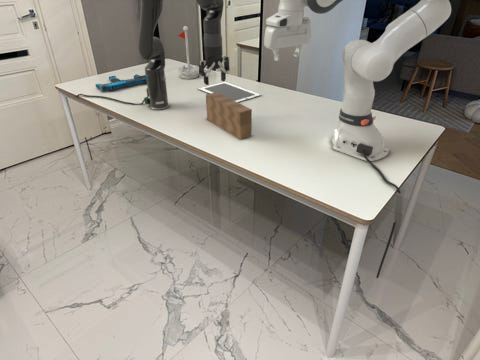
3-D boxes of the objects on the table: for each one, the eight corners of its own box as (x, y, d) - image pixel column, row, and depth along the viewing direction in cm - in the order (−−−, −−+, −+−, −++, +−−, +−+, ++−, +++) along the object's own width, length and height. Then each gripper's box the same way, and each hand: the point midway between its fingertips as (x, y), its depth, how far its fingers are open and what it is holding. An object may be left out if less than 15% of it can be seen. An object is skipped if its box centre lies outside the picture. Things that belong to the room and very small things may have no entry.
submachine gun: (140, 69, 224) (158, 75, 207) (141, 74, 225) (159, 81, 209) (88, 79, 205) (103, 86, 188) (89, 85, 207) (105, 93, 190)
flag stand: (196, 72, 226) (193, 23, 210) (202, 77, 216) (198, 27, 200) (177, 74, 223) (172, 25, 206) (181, 80, 212) (177, 28, 196)
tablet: (198, 89, 198) (198, 88, 197) (225, 82, 209) (225, 81, 209) (233, 103, 177) (233, 103, 177) (261, 95, 188) (261, 94, 188)
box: (251, 135, 146) (251, 109, 139) (240, 139, 143) (240, 112, 136) (217, 116, 164) (216, 92, 157) (207, 119, 161) (205, 94, 155)
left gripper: (222, 40, 147) (223, 78, 156) (193, 45, 140) (196, 83, 149) (232, 43, 142) (233, 81, 151) (203, 48, 135) (205, 88, 144)
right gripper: (304, 15, 128) (300, 53, 136) (262, 19, 118) (260, 60, 126) (316, 17, 124) (312, 56, 132) (273, 22, 114) (271, 64, 122)
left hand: (215, 82), depth 150 cm, fingers open, 8 cm apart
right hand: (286, 58), depth 129 cm, fingers open, 8 cm apart
